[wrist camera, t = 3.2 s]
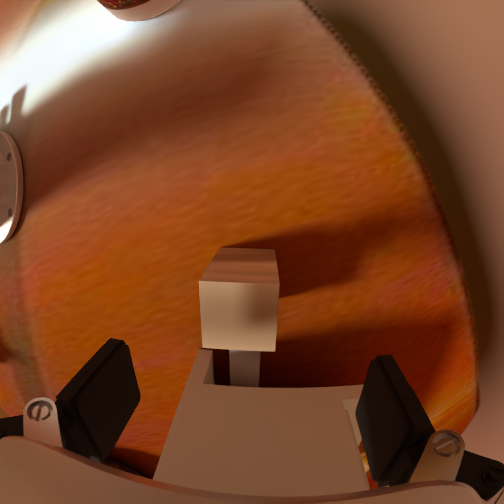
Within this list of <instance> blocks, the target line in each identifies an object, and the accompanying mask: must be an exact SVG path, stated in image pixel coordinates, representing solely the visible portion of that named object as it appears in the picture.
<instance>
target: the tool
mask: <svg viewBox="0 0 504 504" xmlns="http://www.w3.org/2000/svg"><path fill="white" fill-rule="evenodd" d="M279 286H280V283H279V276H278V268H277V261H276V254H275V249H251V248H219V250H218V251H217V253H216V254H215V256H214V258H213V259H212V261H211V262H210V264H209V266H208V267H207V269H206V270H205V272H204V274H203V275H202V277H201V278H200V280H199V294H200V313H201V329H202V344H203V348H213V349H228V350H229V358H230V386H238V387H259V373H260V352H261V351H275V346H276V332H277V318H278V303H279Z"/></svg>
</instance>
